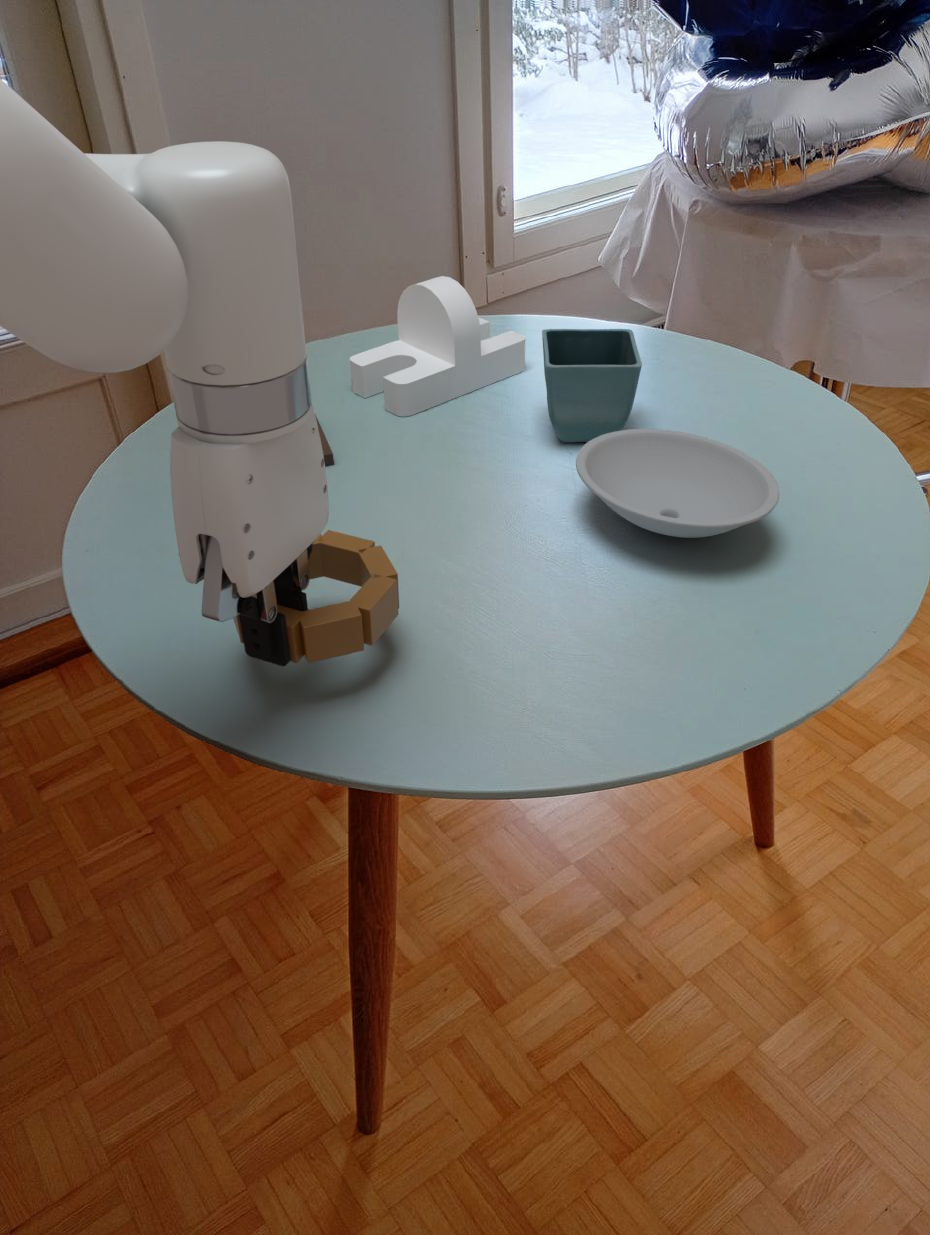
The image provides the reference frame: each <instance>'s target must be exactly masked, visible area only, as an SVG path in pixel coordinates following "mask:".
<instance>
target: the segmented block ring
mask: <svg viewBox="0 0 930 1235" xmlns="http://www.w3.org/2000/svg"><path fill="white" fill-rule="evenodd" d="M312 546H313V547H312V552H311V554H310V557H309V560H308V564H309V574H310V580H313V579H318V578H327V579H332V580H334V581H339V582H341V583H342V582H343V583H347V584H350V585H353V586H358V587H360V588H359V589H358V590H357V592H356V593H354V595H353V596H352V597H351V598H350V599H349V600H348V601H344V602H339V603H335V604H330V605H325V606H320V607H316V608H312V609H308V610H306V611H298V610H295V609H291V608H288V607H284V606H281V605H277V607H278V612H279V613H282V614H284V615H285V618H286V628H287V635H288V643H289V650H290V658H291V660H290V662H291V663H294V664H298V663H299V662H300V661H301V660H302V659H303V657H304V659H305V661H306V663H307V664H312V663H317V662H320V661H325V660H329V659H333V658H338V657H342V656H346V655H350V654H355V653H359V652H364V651H365V645H368V646H371V647H373V646H374V645H375V644H376V643H377V641H378V640H379V639H380V637H381V636H383V634H384V633H385V632H386V630H387V629H388V628H389V627H390V625H392V623H393V622H394V621H395V620H396V618H397V617H398V615H399V609H400V594H399V593H400V592H399V590H400V589H399V574H398V572H397V570H396V569H395V567H394V565H393V563H392V562H391V559H390V558H389V556H388V555H387V553H386V551H385V550H384V548H383V546H382V545H376V542H375V540H370V539H367V538H362V537H359V536H355V535H354V536H353V535H351V534H348V533H347V534H346V533H342V532H340V531H339V532H338V531H334V530H331V529H328V530H326V531H325V532H324V533H323V534H322V533H321V534H320V535H319V536H318V537H317V538H316V540H315V541H314V543H313V544H312ZM252 597H255V598H257V594H254V595H252ZM232 620H233V623H234V625H235V628H236V632H237V635H238V637H239V641H240V643H241V644H244V641H243V635H242V630H241V624H240V618H239V615H237V617H235V618H232Z"/></svg>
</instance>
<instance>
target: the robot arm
mask: <svg viewBox="0 0 930 1235" xmlns="http://www.w3.org/2000/svg"><path fill="white" fill-rule="evenodd" d="M293 209H294V208H293V200H292V192H291V185H290V179H289V175H288V172H287V170H286V168H285V166H284V164H283V163H282V161H281V160H280V158H278V157H277V155H276V154H274V153H272V151H270V150H268V149H267V148H264V147H261V146H258V145H255V144H250V143H247V142H246V143H245V142H240V141H226V140H225V141H224V140H223V141H222V140H221V141H220V140H218V141H196V142H188V143H180V144H174V145H170V146H166V147H163V148H159V149H157V150H155V151H153V152H149V153H86V152H85V153H84V152H83V151H82V150H81V149H79V148H78V147H77V146H76V145H75V144H74V143H73V142H72V141H71V140H70V139H68V138H67V137H66V136H65V135H64V134H63V133H62V132H61V131H59V130H58V129H57V128H56V127H55V126H54V125H53V123H51V122H49V121H48V120H47V119H46V118H45V117H44V116H43V115H42V114H41V113H39V112H38V111H37V110H36V109H35V108H34V107H33V106H32V105H31V104H29V102H27V101H26V99H25V98H23V97H22V96H20V95H19V94H18V93H17V92H16V91H15V90H14V89H13V88H12V87H11V86H10V85H8V84H7V83H6V82H4V80H3V79H2V78H0V327H1V328H3V329H4V330H5V331H6V332H8V333H10V334H11V335H12V336H15V337H16V338H17V339H18V340H20V341H21V342H23V343H24V344H26V345H27V346H29V347H31V348H32V349H33V350H35V351H37V352H38V353H40V354H42V355H43V356H45V357H46V358H48V359H50V360H52V361H54V362H56V363H58V364H60V365H63V366H67V367H70V368H72V369H75V370H78V371H84V372H89V373H94V374H116V373H120V372H126V371H132V370H134V369H136V368H139V367H141V366H143V365H146V364H148V363H149V362H151V361H153V360H154V359H155V358H157V357H158V356H160V355H161V354H162V353H164V359H165V363H166V368H167V373H168V379H169V383H170V389H171V394H172V398H173V399H172V401H173V405H174V411H175V415H176V421H177V425H178V426H177V427H176V428H175V430H173V431H172V433H171V434H170V435H171V436H170V450H169V451H170V454H169V455H170V460H169V461H170V462H169V468H170V470H169V475H170V492H171V494H170V495H171V504H172V513H173V521H174V522H173V523H174V528H175V529H174V531H175V537H176V544H177V550H178V555H179V561H180V566H181V570H182V574H183V577H184V579H185V581H186V582H187V583H189V584H195V585H197V584H199V583H200V582H202V581H203V586H202V600H201V601H202V602H201V611H200V612H201V616H202V617H203V618H206V619H209V620H211V621H212V620H213V621H216V622H219V623H224V622H227V621H230V620H233V618H235V617H237V615H239V618H240V624H241V630H242V635H243V641H244V643H243V647H244V652H245V654H246V655H247V656H248V657H251V658H254V659H257V660H260V661H263V662H266V663H269V664H273V665H276V666H279V667H286V666H288V664H289V663H290V662H291V661H290V660H291V658H290V650H289V643H288V635H287V628H286V618H285V615H284V614H282V613H279V612H278V607H277V605H281V606H284V607H288V608H291V609H295V610H298V611H306V610H309V605H308V598H307V593H306V592H304V591H305V590H306V589H307V588H308V586H309V584H310V580H311V579H310V574H309V564H308V560H309V557H310V554H311V552H312V547H313V546H312V544H313V543H314V541H315V540H316V538H317V537H318V536H319V535H320V534H321V535H322V533H323V532H324V530H325V529H326V527H327V525H328V522H329V514H330V512H329V511H330V510H329V509H330V507H329V506H330V505H329V503H330V502H329V488H328V486H329V485H328V478H327V471H326V470H327V469H326V466H325V463H324V456H323V450H322V445H321V439H320V434H319V430H318V425H317V421H316V417H317V416H316V417H315V415H316V412H315V410H314V406H313V401H312V393H311V392H312V391H311V383H310V382H311V381H310V372H309V362H308V354H307V346H306V335H305V334H306V333H305V325H304V324H305V323H304V314H303V304H302V295H301V294H302V293H301V282H300V272H299V261H298V253H297V252H298V251H297V242H296V232H295V231H296V230H295V221H294V210H293ZM314 412H315V413H314ZM254 594H257V598H255V597H252V595H254Z"/></svg>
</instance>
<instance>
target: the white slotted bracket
mask: <svg viewBox="0 0 930 1235" xmlns="http://www.w3.org/2000/svg"><path fill="white" fill-rule="evenodd" d="M396 318H397V336H398V339H397V340H394V341H391V342H387V343H385V344H382V345H379V346H376V347H374V348H370V349H367V350H365V351H363V352H359V353H356V354H353V355H352V356H350V357H349V366H350V376H351V387H352V392H353V393H354V394H356V395H358V396H359V397H361V398H363V399H367V398H370V397H372V396H375V395H378V394H380V393H383V398H384V410H385V411H387V412H389V413H391V414H393V415H395V416H397V417H401V418H405V417H411V416H414V415H417V414H418V413H422V412H425V411H426V410H429V409H432V408H434V407H436V406H439V405H441V404H445V403H446V402H450V401H452V400H454V399H457V398H459V397H461V396H464V395H466V394H469V393H472V392H475V391H477V390H480V389H482V388H485V387H487V386H490V385H492V384H495V383H498V382H500V381H502V380H505V379H507V378H510V377H511V376H512V377H513V376H515V375H518V374H520V373H521V372H524V371H525V369H526V336H525V335H523V334H521V333H518V332H516V331H514V330H509V331H506V332H503V333H500V334H497V335H494V336H492V337H491V336H490V335H491V332H490V330H491V326H490V325H491V324H490V323H491V322H490V320H487V319H484V318H482V317H479V315H478V312H477V309H476V307H475V304H474V302H473V300H472V298H471V296H470V295H469V293H468V292H467V290H466V289H465V288H464V287H463V286H462V285H461V284H460V282H458V281H457V280H455V279H453V278H452V277H450V276H444V275H440V276H437V277H433V278H430V279H427V280H423V281H420V282H418V283H414V284H411V285H408V286H407V287H406V288H405V289H404V290H402V293H401V294H400V297H399V299H398V304H397V314H396Z"/></svg>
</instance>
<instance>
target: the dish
mask: <svg viewBox="0 0 930 1235" xmlns="http://www.w3.org/2000/svg"><path fill="white" fill-rule="evenodd" d="M575 468H576V471H577V475H578V476H579V478H580V480H581V482H582V483H583V484H584V485H585V486H586V487H587V488H588V489H589V491H591V492H592V493H593V494H595V495H596V496H597V497H599V499H601V500H602V501H603V503H604V504H605V505H606V506H607V507H608V508H610V509H611V510H612V511H614V512H615V513H616V514H617V515H619V516H620V517H622V518H623V519H624V520H626V521H628V522H629V523H632V524H634V525H635V526H637V527H640V528H642V529H644V530H647V531H650V532H652V533H656V534H658V535H664V536H669V537H675V538H685V539H686V538H689V539H693V538H707V537H712V536H718V535H721V534H724V533H728V532H730V531H733V530H735V529H737V528H740V527H742V526H746V525H748V524H751V523H755V522H758V521H759V520H761V519H763V518H765V517H767V516H768V515H769V514H770V513H772V511H773V510H774V509H775V508H776V506H777V505H778V502H779V500H780V489H779V488H780V486H779V485H778V481H777V480H776V478H775V477H774V476H773V474H772V473H771V472H770V471H769V470H768V469H767V468H766V467H765V466H764V465H763V464H762V463H760V462H759V461H757V459H755V458H754V457H752V456H750V455H749V454H747V453H745V452H743V451H742V450H739V449H737V448H735V447H734V446H731V445H728V444H727V443H723V442H721V441H719V440H715V439H712V438H709V437H706V436H702V435H698V434H694V433H689V432H683V431H677V430H672V429H662V428H661V429H659V428H632V429H621V431H615V432H611V433H607V434H604V435H601V436H598V437H596V438H594V439H592V440H590V441H589V442H585V444H583V445H582V446H581V447H580V449H579V451H578V453H577V455H576V457H575Z"/></svg>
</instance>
